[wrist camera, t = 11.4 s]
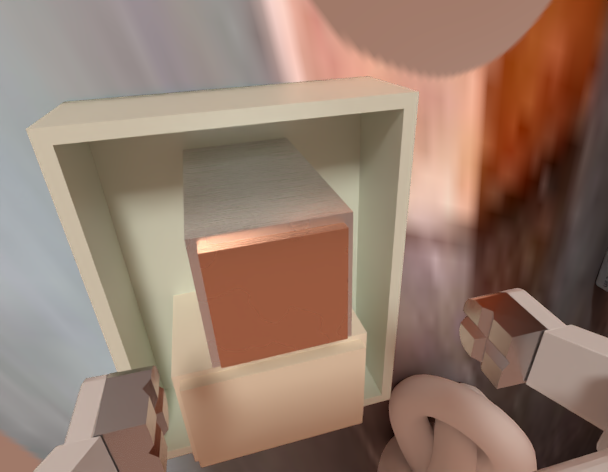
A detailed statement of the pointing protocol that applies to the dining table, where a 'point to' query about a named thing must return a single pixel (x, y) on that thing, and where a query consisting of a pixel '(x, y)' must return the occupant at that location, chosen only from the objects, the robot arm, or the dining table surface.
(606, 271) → the beverage carton
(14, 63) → the dining table surface
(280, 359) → the beige rectangular block
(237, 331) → the copper capped metal stub
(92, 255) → the tote
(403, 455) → the pretzel
